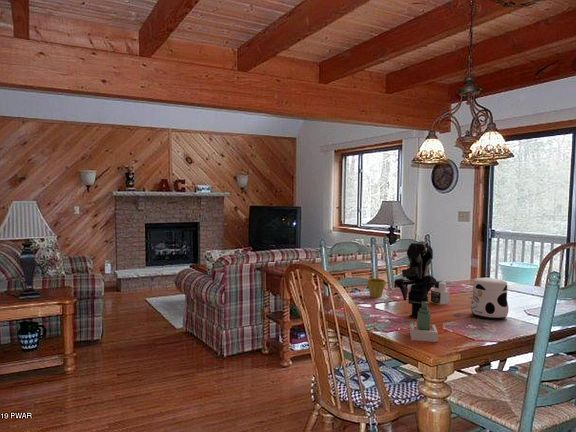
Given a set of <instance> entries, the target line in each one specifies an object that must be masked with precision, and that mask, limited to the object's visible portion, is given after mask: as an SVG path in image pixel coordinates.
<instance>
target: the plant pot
mask: <svg viewBox="0 0 576 432" xmlns="http://www.w3.org/2000/svg"><path fill="white" fill-rule="evenodd" d="M366 283H367V286H368V291H369V296H370V298H376V299H379V298H382V297H383V292H384V289H385V287H386V280H385V279H381V278H368V279H367V282H366Z"/></svg>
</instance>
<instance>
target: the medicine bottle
mask: <svg viewBox="0 0 576 432" xmlns="http://www.w3.org/2000/svg"><path fill="white" fill-rule="evenodd" d="M436 281H437V280H436ZM430 303H433V304H436V305H439V306H443V305H449V304H450V290H447V283H446V282H445V281H443V280H442V281H441V280H438V281H437V282H436V285H434V289H430Z"/></svg>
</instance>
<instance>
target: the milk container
mask: <svg viewBox="0 0 576 432" xmlns="http://www.w3.org/2000/svg"><path fill="white" fill-rule="evenodd" d="M509 309H510V308H509V304H508V282H507V281H506V280H503V279H499V278H493V277H491V278H490V277H477V278H474V279H473V283H472V298H471V301H470V311H471V313H472V314H473V315H475V316H476V317H480V318H484V319H488V320H502V319H504V318H506V317H507V316H508V314H509Z"/></svg>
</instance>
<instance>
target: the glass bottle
mask: <svg viewBox="0 0 576 432" xmlns="http://www.w3.org/2000/svg"><path fill="white" fill-rule="evenodd" d="M428 306H429V301H428V302H426V301H422V307H421V308H420V311H418V318H417V320H416V321H417V322H416V323H417V326H416V330H426V331H431V316H432V315H431V313H432V312H430V308H428Z"/></svg>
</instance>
